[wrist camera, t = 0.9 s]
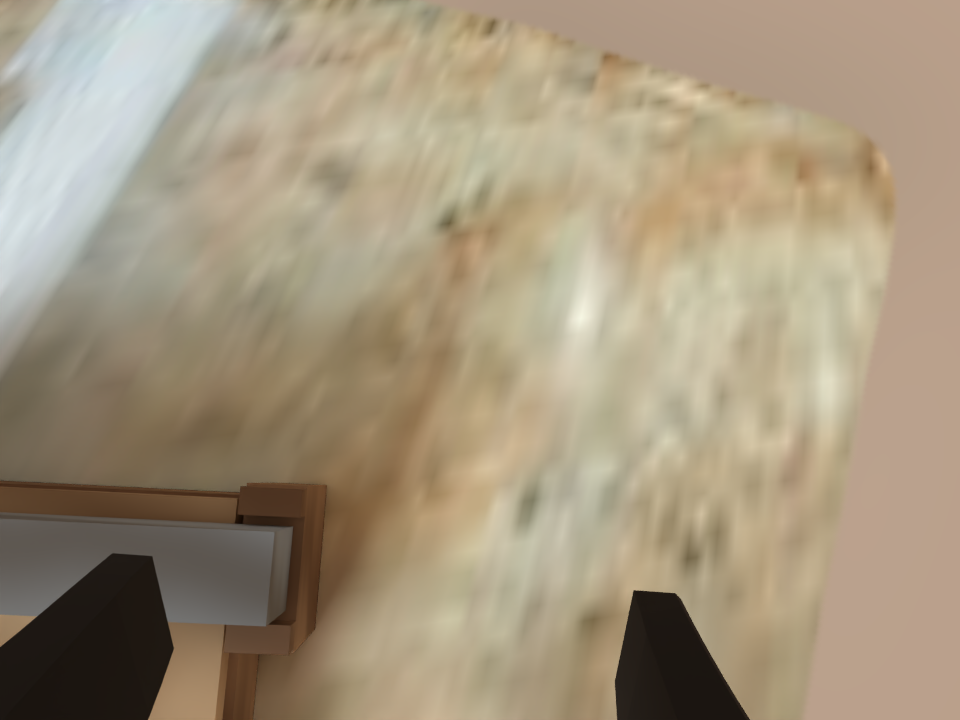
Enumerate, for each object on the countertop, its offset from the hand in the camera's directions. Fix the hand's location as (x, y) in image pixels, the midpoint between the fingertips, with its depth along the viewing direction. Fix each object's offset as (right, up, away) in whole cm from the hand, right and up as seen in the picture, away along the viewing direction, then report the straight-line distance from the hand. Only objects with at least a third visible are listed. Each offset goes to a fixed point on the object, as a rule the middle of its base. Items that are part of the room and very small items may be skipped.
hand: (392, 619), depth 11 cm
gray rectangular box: (-11, -2, +10) cm, 15 cm away
